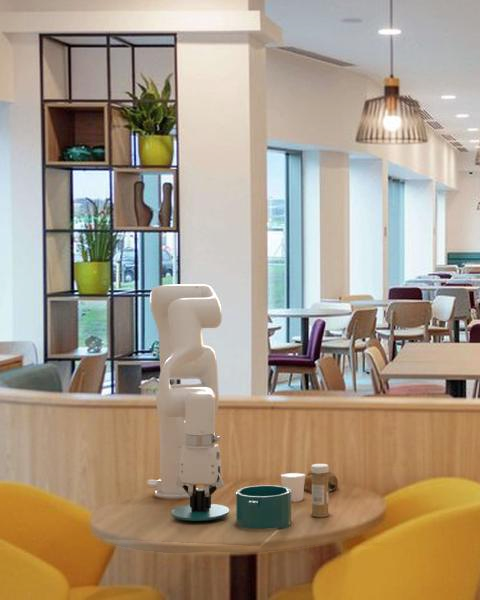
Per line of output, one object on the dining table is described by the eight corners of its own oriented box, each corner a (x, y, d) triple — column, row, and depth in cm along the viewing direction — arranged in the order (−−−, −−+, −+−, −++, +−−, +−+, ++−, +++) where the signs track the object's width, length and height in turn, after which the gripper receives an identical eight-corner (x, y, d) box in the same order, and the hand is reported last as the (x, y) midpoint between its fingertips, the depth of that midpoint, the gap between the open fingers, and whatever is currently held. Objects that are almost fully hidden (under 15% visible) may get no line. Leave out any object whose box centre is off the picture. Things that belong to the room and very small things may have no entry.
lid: (162, 521, 269) (162, 495, 269) (184, 506, 283) (183, 481, 283) (218, 524, 267) (218, 498, 266) (236, 509, 281) (236, 484, 281)
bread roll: (318, 506, 306) (327, 482, 303) (292, 487, 310) (301, 463, 308) (338, 499, 314) (347, 476, 312) (312, 481, 319) (321, 458, 317)
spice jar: (332, 515, 280) (332, 464, 279) (321, 518, 276) (321, 467, 276) (319, 512, 283) (318, 462, 282) (307, 516, 279) (307, 465, 278)
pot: (225, 532, 262) (225, 498, 262) (249, 514, 281) (249, 482, 281) (279, 534, 260) (278, 500, 260) (299, 516, 279) (299, 484, 278)
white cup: (307, 497, 301) (307, 472, 301) (302, 502, 294) (302, 477, 294) (283, 496, 302) (283, 471, 302) (278, 502, 295) (278, 476, 295)
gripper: (235, 438, 276) (235, 508, 277) (175, 436, 279) (176, 505, 280) (225, 444, 269) (225, 516, 270) (164, 441, 271) (165, 512, 273)
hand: (200, 510), depth 275 cm, fingers closed on lid, 2 cm apart
